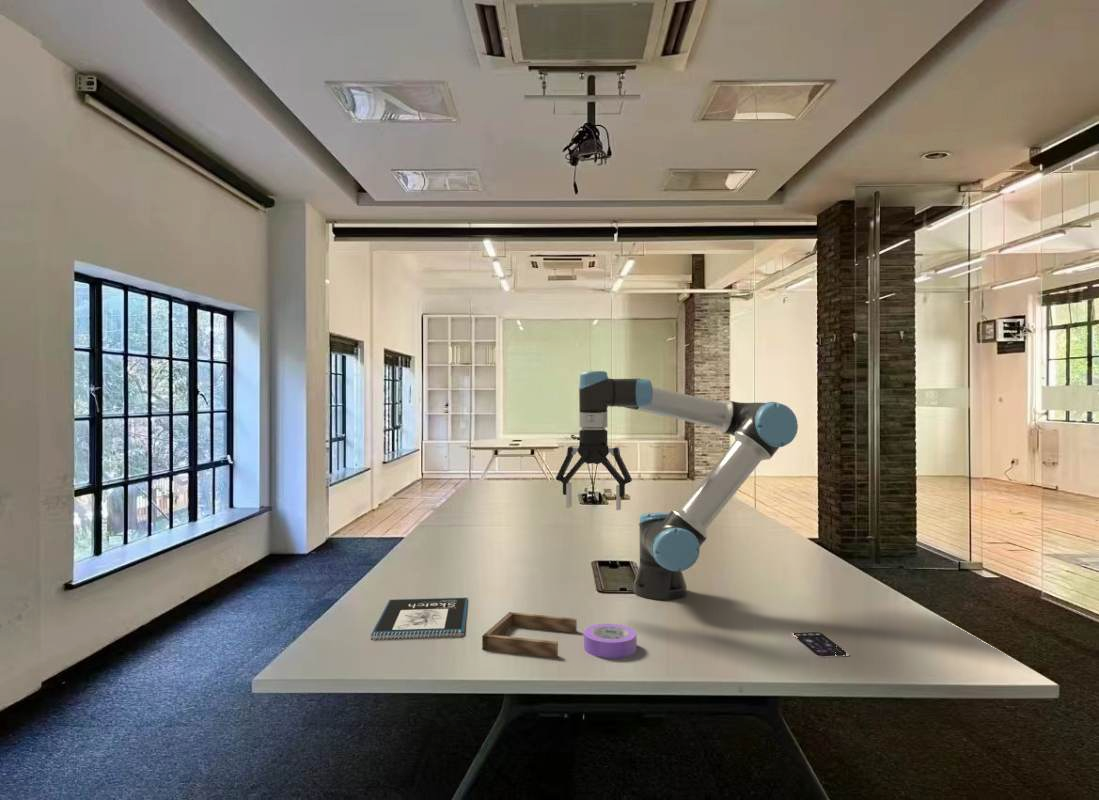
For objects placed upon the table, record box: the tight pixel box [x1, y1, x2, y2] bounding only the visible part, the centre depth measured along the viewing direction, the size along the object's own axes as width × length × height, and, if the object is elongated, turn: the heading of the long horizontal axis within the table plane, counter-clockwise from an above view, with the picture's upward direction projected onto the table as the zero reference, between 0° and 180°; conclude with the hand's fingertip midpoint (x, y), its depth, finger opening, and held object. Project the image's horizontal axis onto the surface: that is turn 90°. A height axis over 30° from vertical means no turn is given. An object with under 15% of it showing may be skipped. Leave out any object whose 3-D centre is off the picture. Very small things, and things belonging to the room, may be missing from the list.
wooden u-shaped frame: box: [481, 611, 578, 659], centre depth 153 cm, size 17×17×3 cm
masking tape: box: [583, 623, 638, 659], centre depth 148 cm, size 12×12×4 cm
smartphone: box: [793, 631, 847, 658], centre depth 150 cm, size 8×1×15 cm
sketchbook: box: [370, 597, 469, 641], centre depth 169 cm, size 22×30×2 cm
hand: (593, 508), depth 177 cm, fingers open, 13 cm apart
